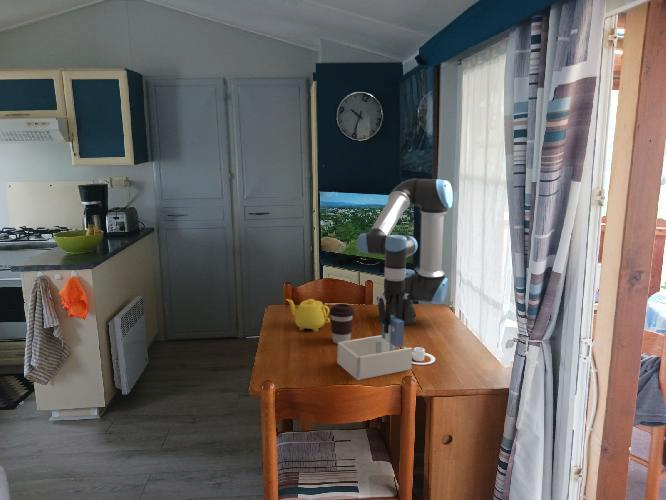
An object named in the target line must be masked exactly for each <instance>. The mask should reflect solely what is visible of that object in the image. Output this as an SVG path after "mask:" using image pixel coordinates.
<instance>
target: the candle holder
mask: <svg viewBox="0 0 666 500" xmlns="http://www.w3.org/2000/svg"><path fill="white" fill-rule="evenodd" d="M425 357H428V358H429V359H430V361H428V362H423V361H424V360H425ZM412 360H413V361H412V364H413V365H420V366H422V365H423V366H425V365H430V364H432V363H434V362H435V361H436V357H435V356H434V355H432V354H430V353H427V352H426V350H425V348H423V347H418V346H417V347H414V348H413V350H412ZM414 361H415V362H414Z"/></svg>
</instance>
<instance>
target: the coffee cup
mask: <svg viewBox="0 0 666 500" xmlns="http://www.w3.org/2000/svg"><path fill="white" fill-rule="evenodd" d="M329 310H330V311H329V315H330V330H331V338H332V343H334V344H337V343H338V342H343V341H349V340H351V336H352V335H351V334H352V330H353V319H354V318H353V315H355V309H354V308H352V307H351V305H350V304H348V303H337V304H334V305H333V307H330V308H329Z"/></svg>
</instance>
